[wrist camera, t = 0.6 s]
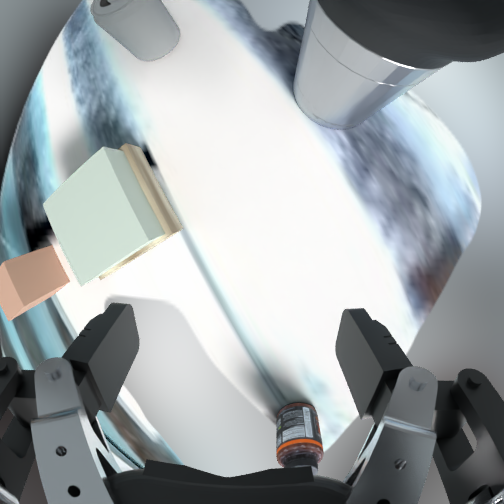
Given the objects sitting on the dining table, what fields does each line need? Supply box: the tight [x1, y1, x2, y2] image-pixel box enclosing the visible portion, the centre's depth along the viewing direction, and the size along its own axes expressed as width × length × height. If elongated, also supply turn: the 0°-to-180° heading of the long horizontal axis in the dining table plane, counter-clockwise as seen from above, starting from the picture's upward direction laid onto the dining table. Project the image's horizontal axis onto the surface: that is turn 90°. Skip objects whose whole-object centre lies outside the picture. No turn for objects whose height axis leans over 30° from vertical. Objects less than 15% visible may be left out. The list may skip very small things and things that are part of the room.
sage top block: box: [43, 147, 165, 286], centre depth 25 cm, size 10×10×4 cm
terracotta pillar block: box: [0, 245, 70, 321], centre depth 28 cm, size 6×6×10 cm
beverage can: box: [91, 0, 180, 61], centre depth 19 cm, size 6×6×12 cm
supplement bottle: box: [277, 403, 323, 475], centre depth 30 cm, size 6×6×11 cm
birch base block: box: [99, 143, 183, 280], centre depth 29 cm, size 11×11×4 cm
